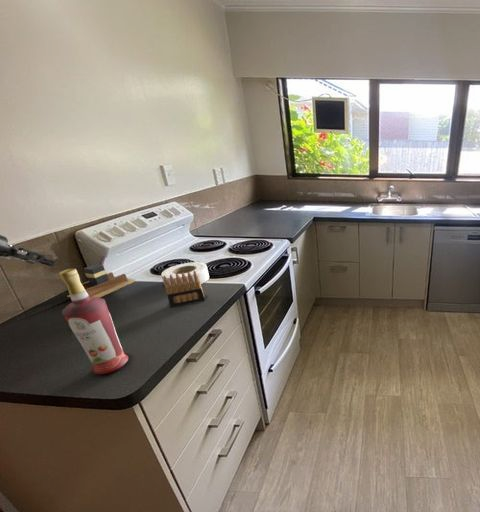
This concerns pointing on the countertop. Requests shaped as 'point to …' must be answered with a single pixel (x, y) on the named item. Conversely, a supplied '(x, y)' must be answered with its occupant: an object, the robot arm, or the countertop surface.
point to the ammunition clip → (184, 290)
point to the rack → (106, 285)
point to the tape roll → (185, 268)
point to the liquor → (92, 326)
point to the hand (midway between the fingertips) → (44, 262)
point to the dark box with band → (96, 274)
